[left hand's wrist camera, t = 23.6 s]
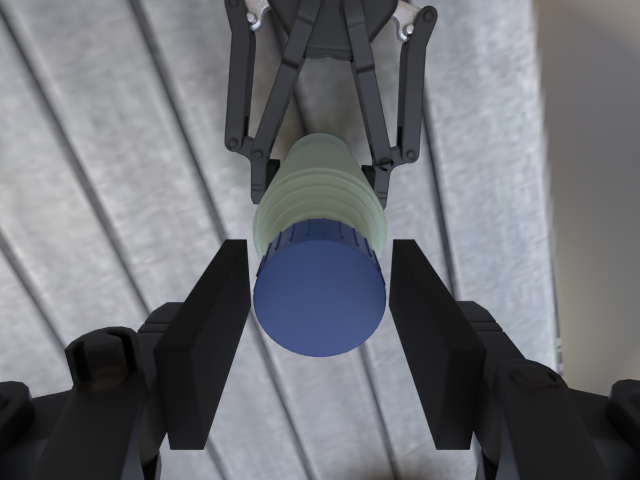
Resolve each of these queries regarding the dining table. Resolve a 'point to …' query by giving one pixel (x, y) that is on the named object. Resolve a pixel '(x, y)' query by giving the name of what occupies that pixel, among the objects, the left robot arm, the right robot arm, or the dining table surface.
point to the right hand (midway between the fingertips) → (315, 245)
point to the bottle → (319, 193)
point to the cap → (319, 288)
